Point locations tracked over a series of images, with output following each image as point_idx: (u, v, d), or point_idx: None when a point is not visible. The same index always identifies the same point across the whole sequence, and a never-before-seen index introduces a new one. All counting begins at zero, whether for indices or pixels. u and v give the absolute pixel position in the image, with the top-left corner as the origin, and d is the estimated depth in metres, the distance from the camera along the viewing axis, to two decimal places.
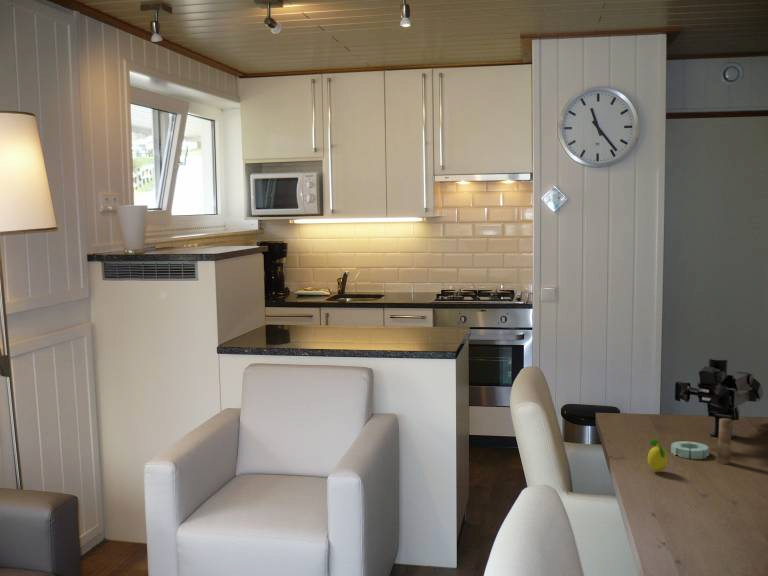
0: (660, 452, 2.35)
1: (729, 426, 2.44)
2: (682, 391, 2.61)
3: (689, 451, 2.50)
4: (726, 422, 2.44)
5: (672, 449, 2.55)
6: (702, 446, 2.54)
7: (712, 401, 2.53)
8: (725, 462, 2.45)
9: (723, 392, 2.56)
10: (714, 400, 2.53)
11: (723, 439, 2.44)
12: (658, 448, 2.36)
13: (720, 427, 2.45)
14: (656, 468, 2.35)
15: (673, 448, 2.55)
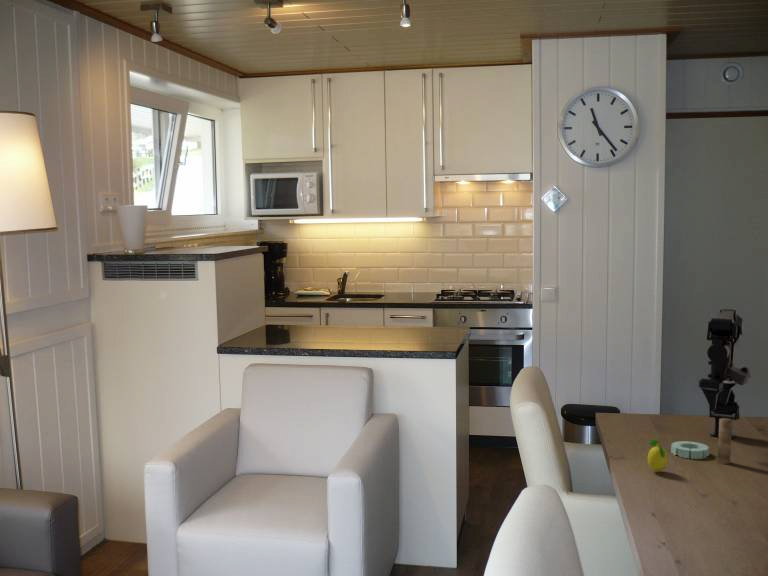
0: (660, 452, 2.35)
1: (729, 426, 2.44)
2: (716, 400, 2.55)
3: (689, 451, 2.50)
4: (726, 422, 2.44)
5: (672, 449, 2.55)
6: (702, 446, 2.54)
7: None
8: (725, 462, 2.45)
9: (734, 386, 2.63)
10: None
11: (723, 439, 2.44)
12: (658, 448, 2.36)
13: (720, 427, 2.45)
14: (656, 468, 2.35)
15: (673, 448, 2.55)
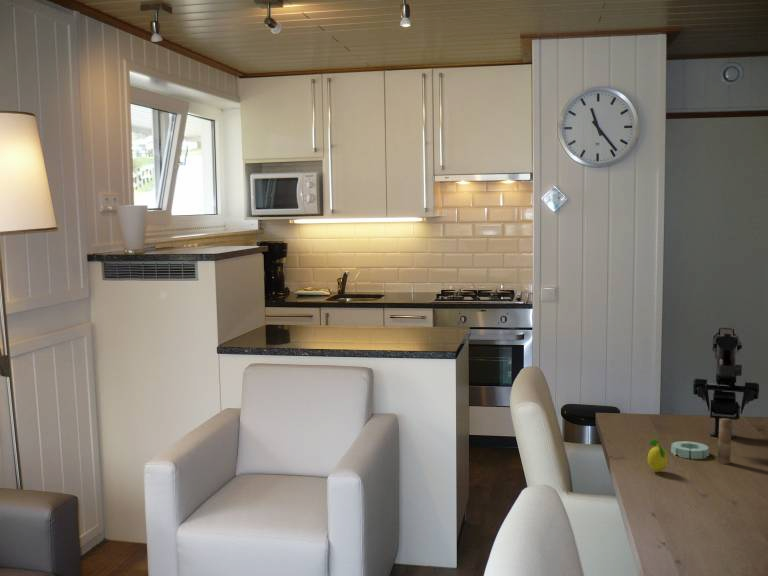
0: (660, 452, 2.35)
1: (729, 426, 2.44)
2: (706, 399, 2.56)
3: (689, 451, 2.50)
4: (726, 422, 2.44)
5: (672, 449, 2.55)
6: (702, 446, 2.54)
7: (743, 410, 2.51)
8: (725, 462, 2.45)
9: (748, 393, 2.52)
10: (744, 408, 2.51)
11: (723, 439, 2.44)
12: (658, 448, 2.36)
13: (720, 427, 2.45)
14: (656, 468, 2.35)
15: (673, 448, 2.55)
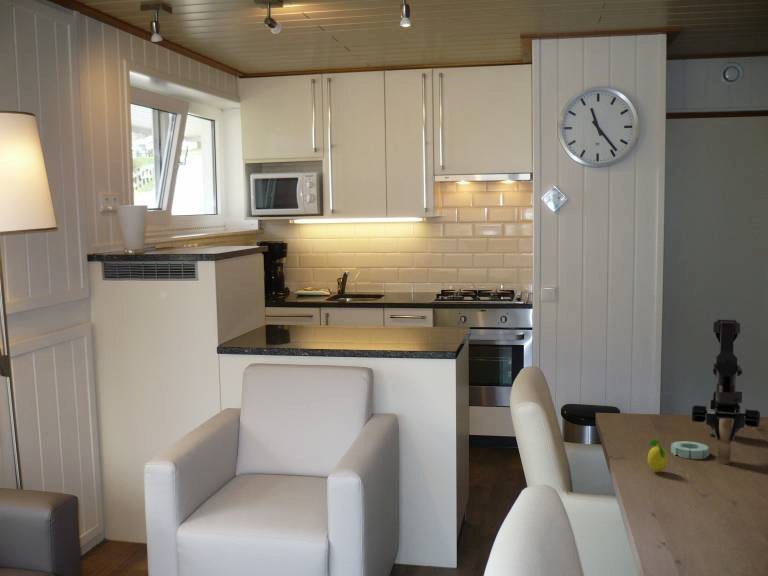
0: (660, 452, 2.35)
1: (729, 426, 2.44)
2: (715, 427, 2.46)
3: (689, 451, 2.50)
4: (726, 422, 2.44)
5: (672, 449, 2.55)
6: (702, 446, 2.54)
7: (733, 438, 2.44)
8: (725, 462, 2.45)
9: (738, 420, 2.45)
10: (734, 435, 2.44)
11: (723, 439, 2.44)
12: (658, 448, 2.36)
13: (720, 427, 2.45)
14: (656, 468, 2.35)
15: (673, 448, 2.55)
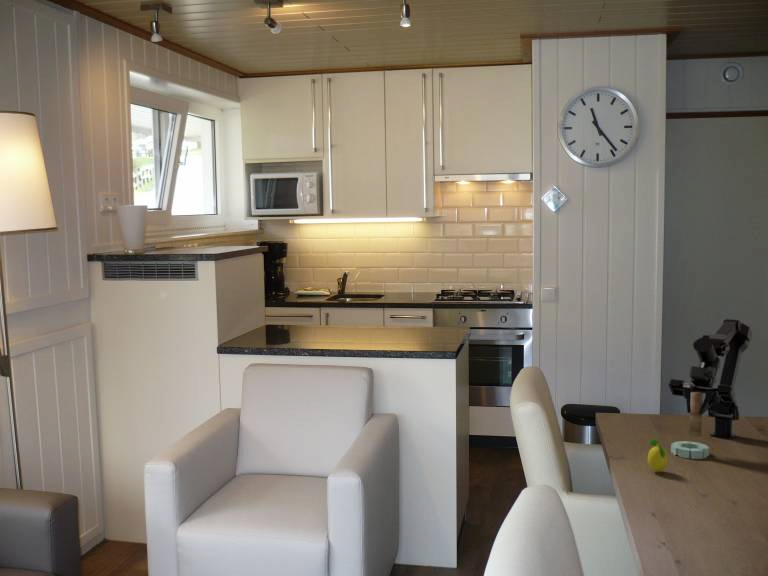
0: (660, 452, 2.35)
1: (698, 400, 2.50)
2: (687, 400, 2.54)
3: (689, 451, 2.50)
4: (695, 395, 2.50)
5: (672, 449, 2.55)
6: (702, 446, 2.54)
7: (702, 412, 2.50)
8: (694, 434, 2.52)
9: (710, 394, 2.51)
10: (704, 409, 2.51)
11: (693, 412, 2.51)
12: (658, 448, 2.36)
13: (690, 400, 2.52)
14: (656, 468, 2.35)
15: (673, 448, 2.55)
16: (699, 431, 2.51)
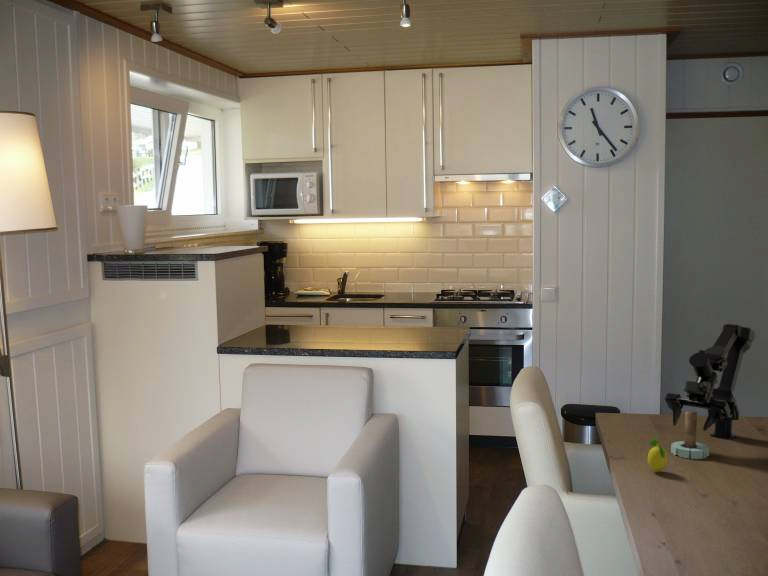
0: (660, 452, 2.35)
1: (693, 419, 2.53)
2: (674, 413, 2.58)
3: (689, 451, 2.50)
4: (689, 414, 2.53)
5: (672, 449, 2.55)
6: (702, 446, 2.54)
7: (706, 428, 2.50)
8: None
9: (714, 410, 2.51)
10: (707, 425, 2.50)
11: (687, 431, 2.53)
12: (658, 448, 2.36)
13: (685, 419, 2.54)
14: (656, 468, 2.35)
15: (673, 448, 2.55)
16: None
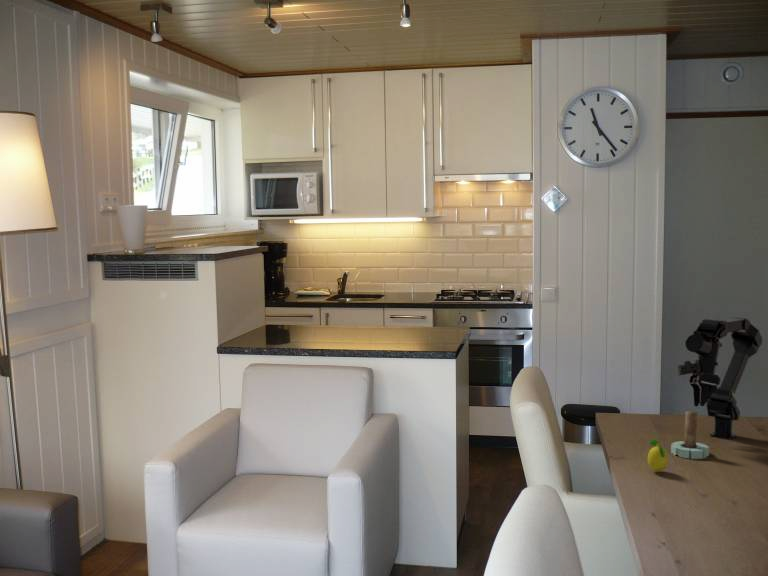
0: (660, 452, 2.35)
1: (693, 419, 2.52)
2: (693, 395, 2.70)
3: (689, 451, 2.50)
4: (690, 414, 2.53)
5: (672, 449, 2.55)
6: (702, 446, 2.54)
7: (702, 403, 2.59)
8: None
9: (699, 385, 2.59)
10: (702, 400, 2.59)
11: (687, 431, 2.53)
12: (658, 448, 2.36)
13: (685, 419, 2.54)
14: (656, 468, 2.35)
15: (673, 448, 2.55)
16: None
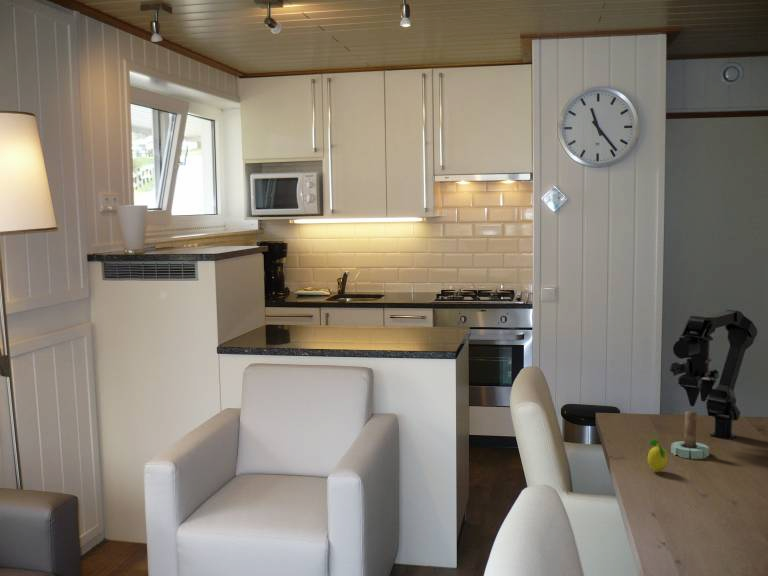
0: (660, 452, 2.35)
1: (692, 419, 2.52)
2: None
3: (689, 451, 2.50)
4: (689, 415, 2.53)
5: (672, 449, 2.55)
6: (702, 446, 2.54)
7: (691, 403, 2.62)
8: None
9: None
10: (690, 400, 2.62)
11: (687, 431, 2.53)
12: (658, 448, 2.36)
13: (685, 419, 2.54)
14: (656, 468, 2.35)
15: (673, 448, 2.55)
16: None
